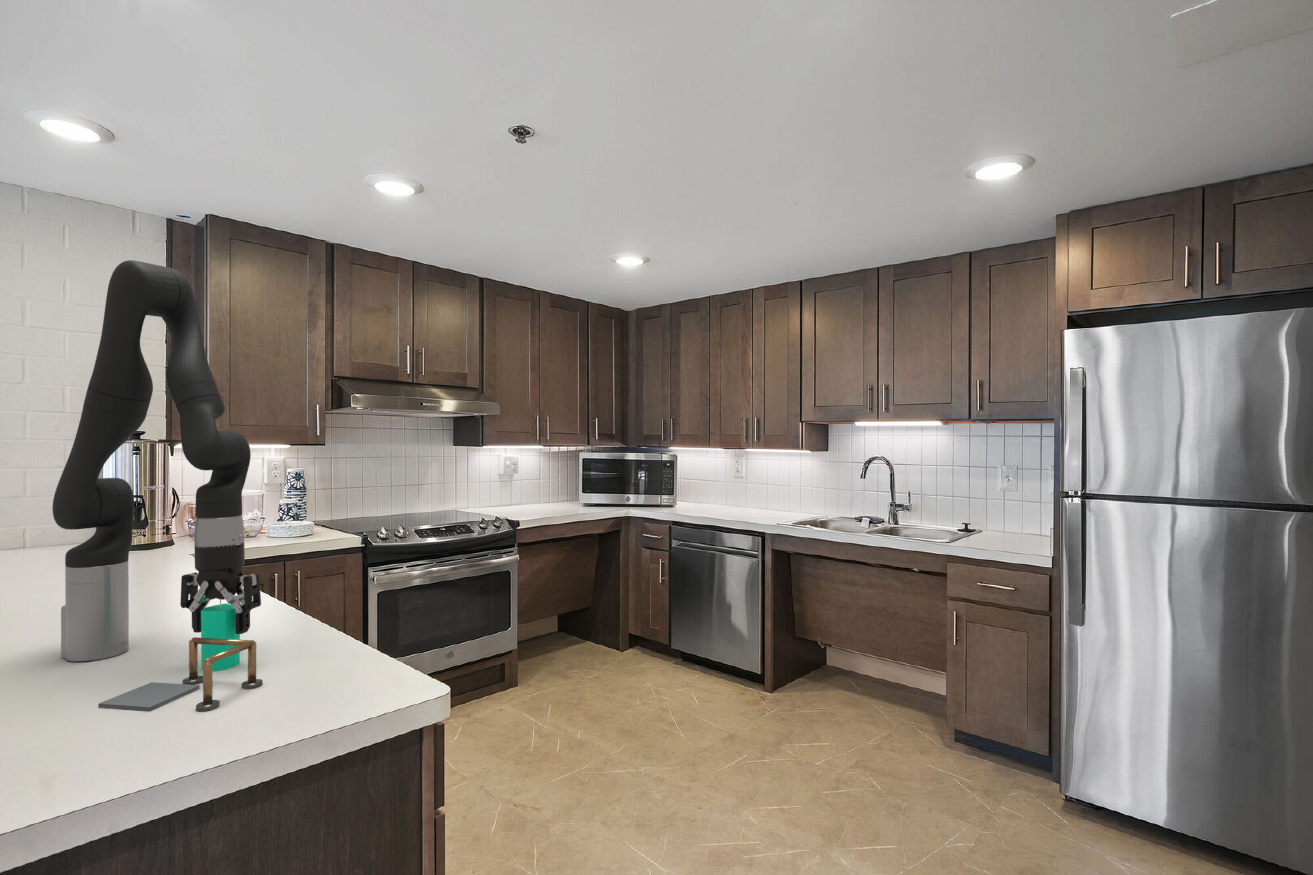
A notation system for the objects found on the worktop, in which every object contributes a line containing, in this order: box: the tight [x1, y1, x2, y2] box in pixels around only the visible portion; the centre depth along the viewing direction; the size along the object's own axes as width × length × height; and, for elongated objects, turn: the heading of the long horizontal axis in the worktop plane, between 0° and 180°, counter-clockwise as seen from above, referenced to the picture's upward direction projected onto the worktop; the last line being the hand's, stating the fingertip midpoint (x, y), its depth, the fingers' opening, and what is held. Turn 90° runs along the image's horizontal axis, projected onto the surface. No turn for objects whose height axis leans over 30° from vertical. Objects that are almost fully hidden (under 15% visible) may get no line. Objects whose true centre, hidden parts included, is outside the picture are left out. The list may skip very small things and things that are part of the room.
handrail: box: [181, 637, 264, 713], centre depth 107 cm, size 14×12×8 cm
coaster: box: [97, 681, 201, 712], centre depth 106 cm, size 9×9×1 cm
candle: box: [200, 599, 241, 672], centre depth 121 cm, size 6×6×12 cm
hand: (221, 632), depth 121 cm, fingers open, 8 cm apart
